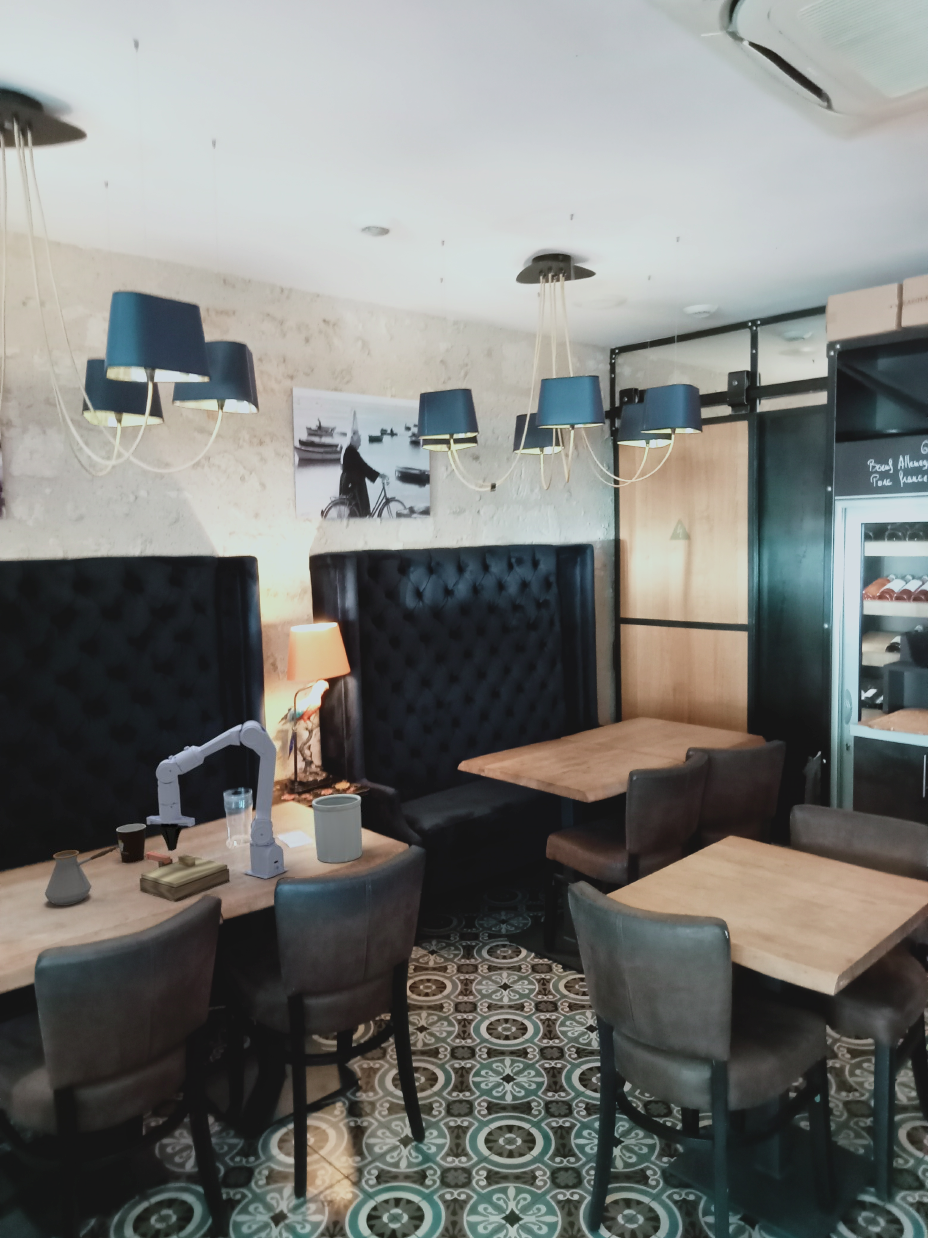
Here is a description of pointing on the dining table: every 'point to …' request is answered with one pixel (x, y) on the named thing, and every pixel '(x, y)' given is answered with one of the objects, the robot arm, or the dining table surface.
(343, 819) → the utensil holder
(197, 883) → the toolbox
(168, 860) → the pink bar
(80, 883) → the coffee pot
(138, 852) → the coffee mug
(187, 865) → the lid
